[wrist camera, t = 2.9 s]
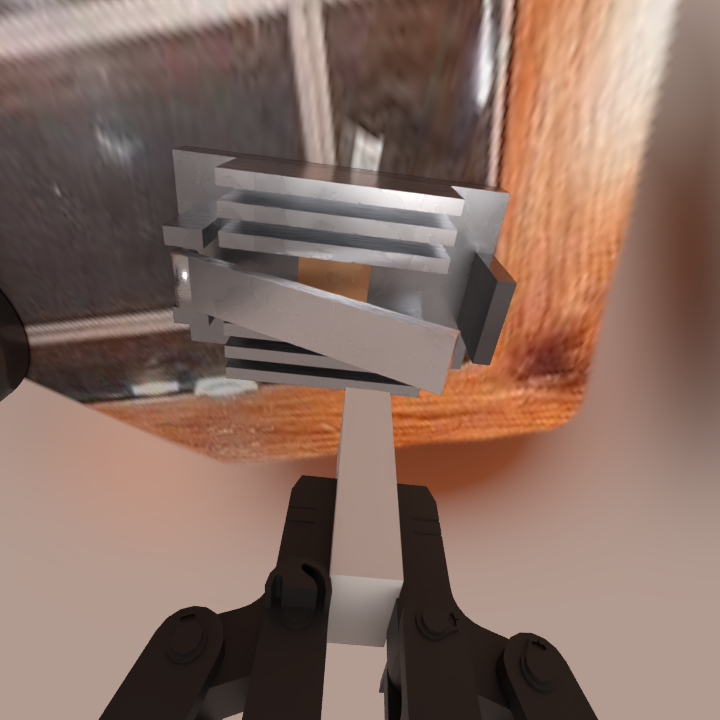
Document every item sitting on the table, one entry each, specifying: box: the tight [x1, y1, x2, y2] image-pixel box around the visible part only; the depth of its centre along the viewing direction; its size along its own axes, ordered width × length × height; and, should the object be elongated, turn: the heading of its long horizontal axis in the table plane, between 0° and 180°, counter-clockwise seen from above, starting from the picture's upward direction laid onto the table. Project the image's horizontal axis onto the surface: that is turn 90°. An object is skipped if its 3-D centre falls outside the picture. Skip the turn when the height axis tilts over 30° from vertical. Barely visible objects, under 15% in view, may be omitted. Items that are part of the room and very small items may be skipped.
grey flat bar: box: [170, 248, 461, 396], centre depth 21 cm, size 16×3×1 cm, turn 83°
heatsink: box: [163, 146, 517, 398], centre depth 25 cm, size 19×12×7 cm, turn 83°
